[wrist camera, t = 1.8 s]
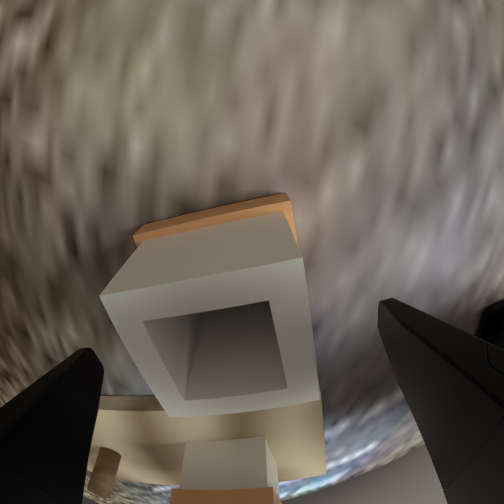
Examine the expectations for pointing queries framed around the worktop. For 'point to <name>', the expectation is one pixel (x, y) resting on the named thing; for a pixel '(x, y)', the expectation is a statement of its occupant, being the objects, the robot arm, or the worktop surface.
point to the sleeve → (218, 310)
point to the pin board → (196, 429)
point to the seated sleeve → (228, 473)
